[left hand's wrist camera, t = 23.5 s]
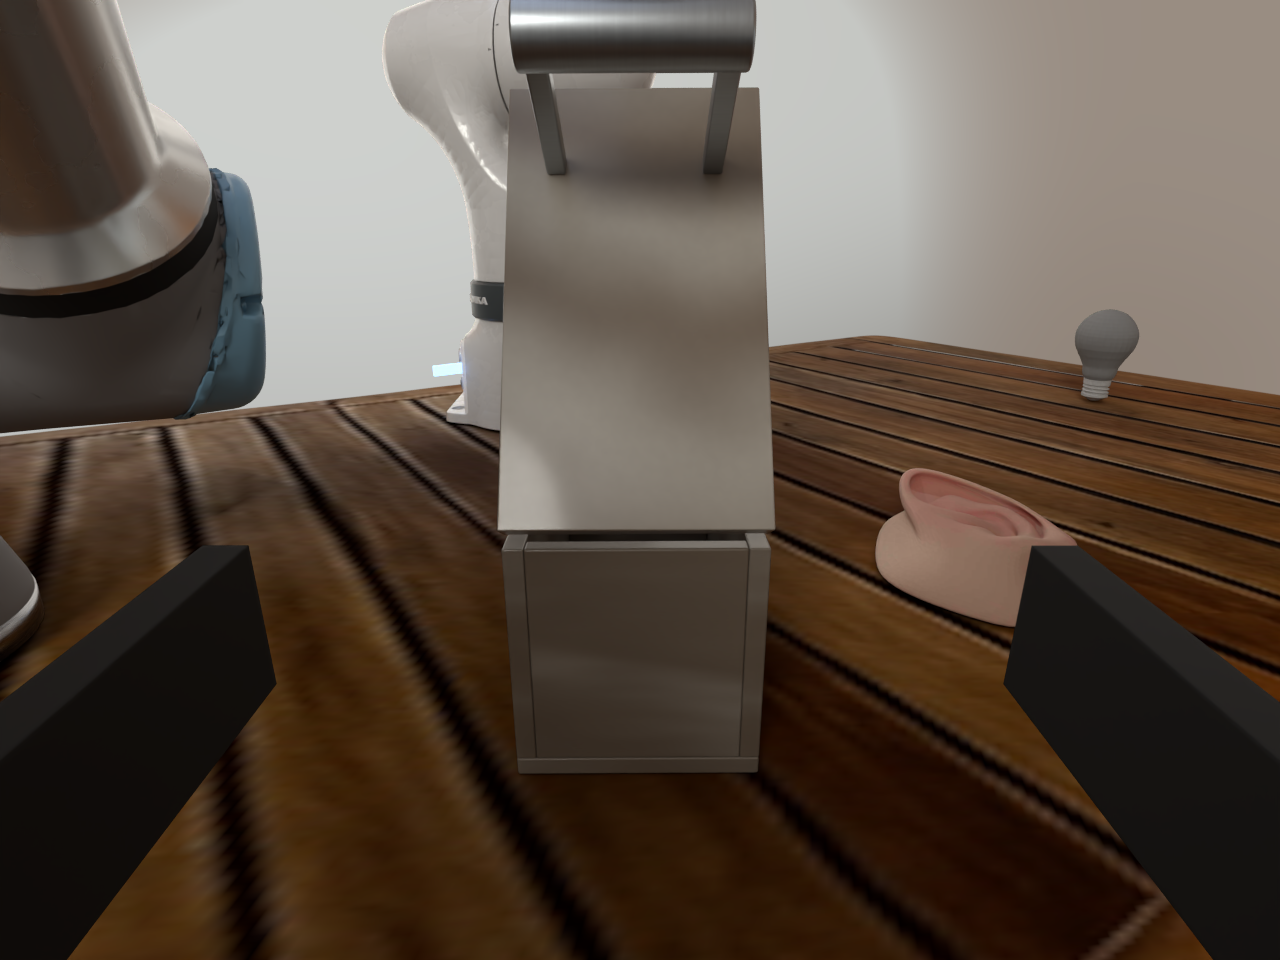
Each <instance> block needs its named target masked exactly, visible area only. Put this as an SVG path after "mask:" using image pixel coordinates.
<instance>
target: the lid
mask: <svg viewBox="0 0 1280 960" xmlns="http://www.w3.org/2000/svg"><path fill="white" fill-rule="evenodd" d="M508 26H509V39H510V48H511V55H512V60H513V64H514V67H515V70H516V72H517V73H519V74H526V79H527V83H528V88H529V89H510V91H509V126H508V161H507V196H506V231H505V266H504V302H503V337H502V372H501V407H500V442H499V477H498V512H497V531H498V532H500V533H502V534H504V535H536V534H727V533H770V532H772V531H773V530H775V507H774V480H773V452H772V425H771V398H770V371H769V344H768V317H767V290H766V263H765V235H764V208H763V181H762V154H761V127H760V100H759V88H738V86H739V81H740V75H741V73H742V72H743V73H744V72H748V71H749V70H750V68H751V65H752V61H753V55H754V47H755V36H756V1H755V0H509V7H508ZM572 73H714V77H713V85H712V88H597V89H555V87H554V81H553V75H552V74H572Z"/></svg>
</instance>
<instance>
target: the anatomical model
mask: <svg viewBox="0 0 1280 960" xmlns="http://www.w3.org/2000/svg"><path fill="white" fill-rule="evenodd" d="M899 492H900V498H901V502H902V505H903V507H904V511H903V512H901V513H899V514H897V515H895V516H893V517H892V518H890V519H889V520H888V521H887V522H886V523H885V524H884V525H883V526H882V528H881V530H880V532H879V535H878V538H877V543H876V563H877V567H878V569H879V571H880V573H881V575H882V576H883V577H884V578H885V579H886V580H887V581H888V582H889V583H891V584H892V585H894V586H895V587H896V588H898V589H900V590H902V591H904V592H906V593H908V594H910V595H912V596H914V597H916V598H918V599H921V600H923V601H926V602H928V603H931V604H933V605H936V606H939V607H941V608H944V609H947V610H950V611H953V612H956V613H959V614H962V615H965V616H968V617H971V618H975V619H978V620H982V621H985V622H989V623H993V624H998V625H1003V626H1008V627H1015V625H1016V620H1017V615H1018V610H1019V605H1020V600H1021V595H1022V590H1023V586H1024V581H1025V576H1026V571H1027V566H1028V561H1029V556H1030V551H1031V546H1077V544H1076V542H1075V540H1074V539H1073V538H1071V537H1070V536H1069V535H1067V534H1066V533H1065V532H1063V531H1062V530H1060V529H1059V528H1058V527H1056V526H1055V525H1053V524H1052V523H1050V522H1049V521H1047V520H1046V519H1045V518H1043V517H1042V516H1040V515H1039V514H1037V513H1036V512H1034V511H1033V510H1031V509H1030V508H1028V507H1026V506H1025V505H1023V504H1021V503H1019V502H1018V501H1016V500H1013V499H1011V498H1009V497H1007V496H1005V495H1002V494H1000V493H998V492H995V491H993V490H991V489H988V488H985V487H983V486H980V485H978V484H975V483H972V482H970V481H967V480H964V479H961V478H958V477H955V476H952V475H949V474H945V473H941V472H938V471H933V470H929V469H921V468H916V469H910V470H908V471H906V472H905V473H904V474H903V475H902V477H901V479H900V483H899Z"/></svg>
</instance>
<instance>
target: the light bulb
mask: <svg viewBox="0 0 1280 960" xmlns="http://www.w3.org/2000/svg"><path fill="white" fill-rule="evenodd" d="M1138 339H1139V330H1138V327H1137V325H1136V323H1135V321H1134V320H1133V319H1132V318H1131V317H1130V316H1129V315H1128V314H1126V313H1124V312H1121V311H1118V310H1103V311H1099V312H1096V313H1094V314H1092V315H1090V316H1089V317H1087V318H1086V319H1085V320H1084V321H1083V322H1082V323H1081V324H1080V326H1079V327H1078V329H1077V331H1076V335H1075V346H1076V349H1077V351H1078V354H1079V356H1080V358H1081V361H1082V364H1083V369H1082V372H1083V376H1084V382H1083V383H1085V384H1083V386H1084V387H1083V388H1082V389H1083V391H1082V392H1081V395H1083V396H1084V397H1086V398H1087V399H1089V400H1101V399H1104V398H1107V397H1108V395H1107V393H1109V392H1107V390H1109V388H1108V386H1110V384H1111V381H1112V379H1113V378H1114V377H1115V375H1116V373H1117V370H1118V368H1119V366H1120V365H1121V364H1122V363H1123V362H1124V360H1125V359H1126V358H1127V357H1128V356H1129V355H1130V354H1131V353H1132V352H1133V350H1134V349H1135V347H1136V345H1137V343H1138Z"/></svg>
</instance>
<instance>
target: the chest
mask: <svg viewBox="0 0 1280 960" xmlns="http://www.w3.org/2000/svg"><path fill="white" fill-rule="evenodd" d="M770 561H771V548H770V545H769V543H768V540H767V538H766V535H765V533H727V534H536V535H508V536H507V539H506V541H505V544H504V546H503V549H502V563H503V576H504V590H505V603H506V616H507V630H508V643H509V656H510V670H511V683H512V696H513V710H514V723H515V736H516V750H517V758H518V759H517V761H518V772H519V773H520V774H560V773H756V772H757V771H758V761H759V757H758V756H759V746H760V729H761V712H762V695H763V679H764V662H765V645H766V628H767V611H768V595H769V578H770Z"/></svg>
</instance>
